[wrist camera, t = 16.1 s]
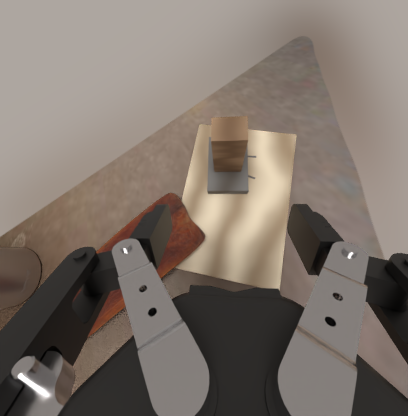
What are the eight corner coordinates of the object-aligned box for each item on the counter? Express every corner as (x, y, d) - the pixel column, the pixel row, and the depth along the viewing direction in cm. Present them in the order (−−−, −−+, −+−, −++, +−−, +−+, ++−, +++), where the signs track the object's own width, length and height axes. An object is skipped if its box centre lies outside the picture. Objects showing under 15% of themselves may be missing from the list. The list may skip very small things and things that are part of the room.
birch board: (169, 265, 28) (166, 266, 27) (200, 129, 33) (199, 124, 32) (276, 289, 26) (279, 292, 25) (293, 140, 31) (296, 134, 30)
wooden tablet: (173, 190, 30) (169, 186, 28) (211, 238, 27) (209, 237, 25) (43, 294, 29) (32, 296, 28) (67, 356, 26) (56, 362, 25)
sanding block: (208, 193, 29) (200, 166, 20) (209, 142, 31) (203, 96, 22) (247, 193, 28) (258, 165, 19) (246, 141, 30) (256, 93, 21)
